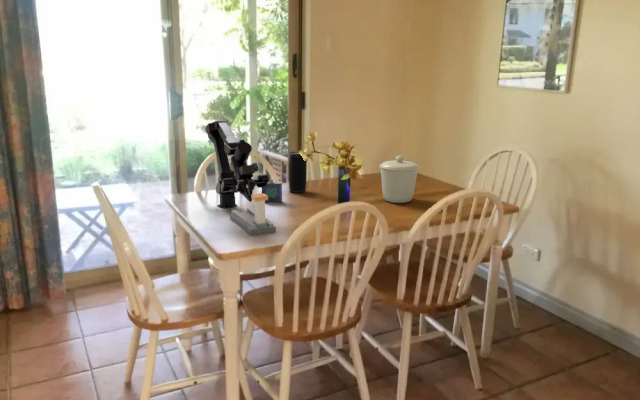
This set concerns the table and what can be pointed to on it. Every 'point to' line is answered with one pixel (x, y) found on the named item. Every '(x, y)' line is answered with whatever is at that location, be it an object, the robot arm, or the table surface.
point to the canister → (398, 180)
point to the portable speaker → (297, 173)
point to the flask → (273, 192)
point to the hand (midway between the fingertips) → (250, 201)
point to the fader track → (250, 222)
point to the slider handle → (259, 209)
